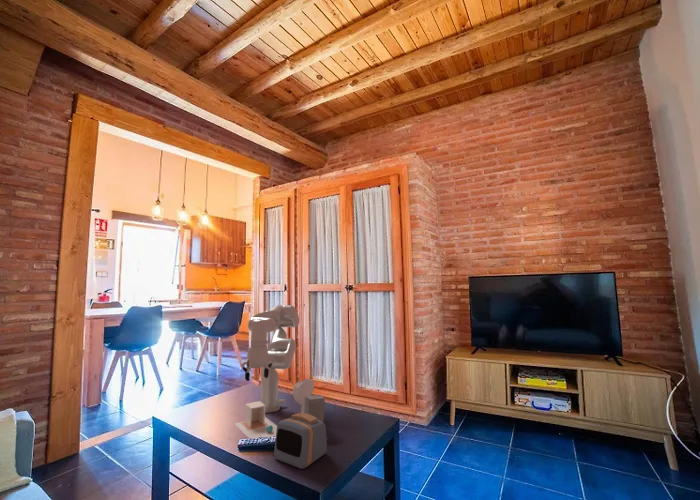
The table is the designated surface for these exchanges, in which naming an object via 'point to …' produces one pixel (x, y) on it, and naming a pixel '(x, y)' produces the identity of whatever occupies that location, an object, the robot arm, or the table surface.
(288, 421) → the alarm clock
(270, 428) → the marble
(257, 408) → the cream rectangular block
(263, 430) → the mat
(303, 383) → the heart sculpture
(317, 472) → the table surface
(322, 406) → the skincare box
